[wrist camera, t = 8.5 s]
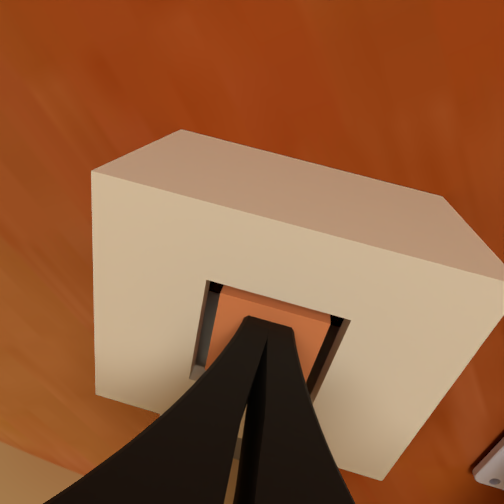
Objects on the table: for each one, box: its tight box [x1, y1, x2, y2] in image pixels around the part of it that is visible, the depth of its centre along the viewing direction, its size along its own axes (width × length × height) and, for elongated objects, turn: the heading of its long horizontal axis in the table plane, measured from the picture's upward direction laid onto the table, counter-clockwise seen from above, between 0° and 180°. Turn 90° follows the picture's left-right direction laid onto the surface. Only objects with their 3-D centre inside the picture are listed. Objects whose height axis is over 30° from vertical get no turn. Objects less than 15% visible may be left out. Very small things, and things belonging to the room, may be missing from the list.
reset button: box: [205, 285, 331, 382], centre depth 11 cm, size 3×3×2 cm
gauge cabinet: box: [91, 129, 504, 481], centre depth 12 cm, size 10×8×6 cm
